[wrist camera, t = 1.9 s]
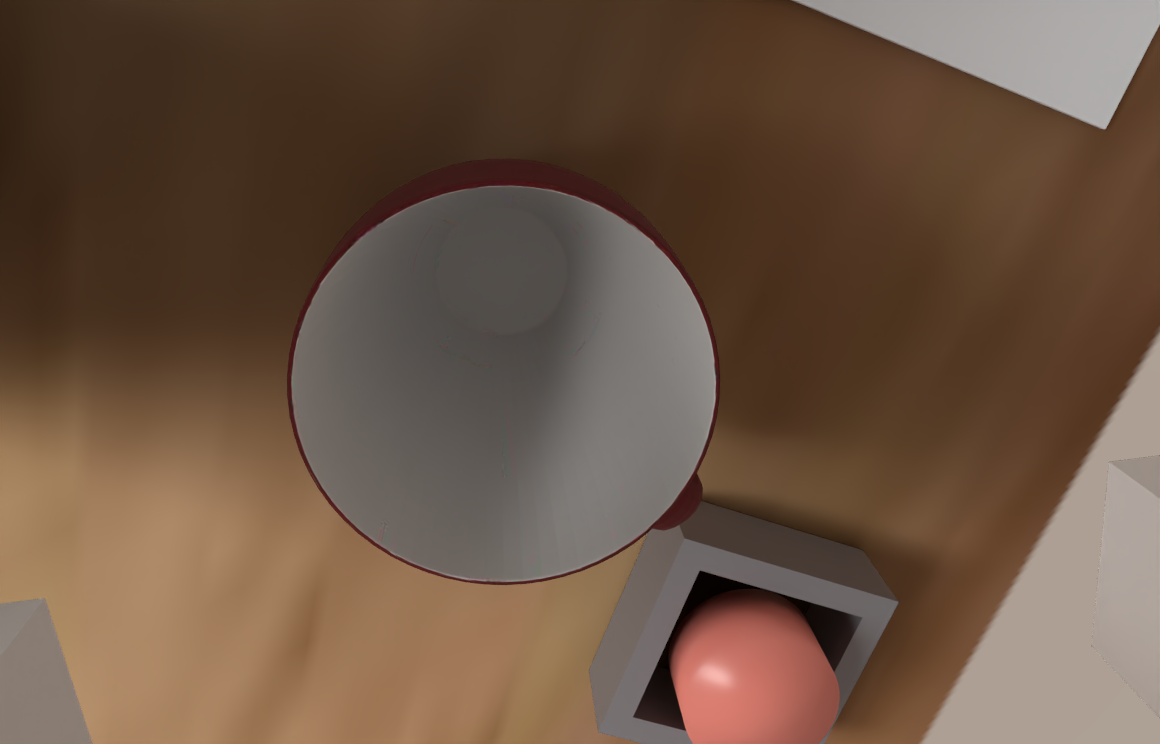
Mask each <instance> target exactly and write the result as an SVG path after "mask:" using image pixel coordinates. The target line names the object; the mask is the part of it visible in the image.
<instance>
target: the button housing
mask: <svg viewBox="0 0 1160 744" xmlns="http://www.w3.org/2000/svg"><path fill="white" fill-rule="evenodd" d="M700 570H701V571H704V572H708V573H711V574H714V575H718V576H721V577H725V578H728V579H732V580H735V581H739V582H742V583H745V584H749V585H752V586H756V587H759V588H763V589H766V590H770V591H773V592H776V593H780V594H783V595H787V596H790V597H794V598H797V599H801V600H804V601H807V602H811V604H810V606H809V608H808V610H807V612H806V614H805V618H806V620H807V622H808V624H809V625H810V627H811V629H812V631H813V633H814V635H815V637H816V639H817V641H818V643H819V645H820V647H821V649H822V650H823V652H824V654H825V656H826V658H827V660H828V662H829V664H830V666H831V668H832V670H833V672H834V673H835V676H836V678H837V681H838V685H839V691H840V701H839V708H838V712H837V715H836V718H835V720H834V723H833V725H832V727H831V728H830V730H829V731H828V733H827V734H826V736H825V737H824V738H823V739H822V741H821V742H820V743H819V744H824V743H825V741H826V739H827V737H828V735H829V733H830V731H831V729H832V728H833V726H834V724H835V722H836V720H837V718H838V716H839V714H840V712H841V710H842V709H843V707H844V705H845V703H846V701H847V699H848V697H849V695H850V693H851V692H852V690H853V688H854V686H855V684H856V682H857V680H858V678H859V676H860V675H861V673H862V671H863V669H864V667H865V665H866V663H867V661H868V659H869V658H870V656H871V654H872V652H873V650H874V648H875V646H876V644H877V642H878V641H879V639H880V637H881V635H882V633H883V631H884V629H885V627H886V625H887V623H888V622H889V620H890V618H891V616H892V614H893V612H894V610H895V608H896V606H897V605H898V603H899V601H898V600H897V598H896V597H895V596H894V594H893V593H892V591H891V590H890V588H889V587H888V586H887V584H886V583H885V581H884V580H883V578H882V577H881V575H880V574H879V573H878V571H877V570H876V568H875V567H874V565H873V564H872V563H871V561H870V560H869V558H868V557H867V555H866V554H865V552H864V551H863V550H861V549H857V548H854V547H851V546H848V545H844V544H841V543H838V542H834V541H831V540H828V539H825V538H821V537H818V536H815V535H811V534H808V533H805V532H802V531H798V530H795V529H792V528H788V527H785V526H782V525H779V524H775V523H772V522H769V521H765V520H762V519H759V518H756V517H752V516H749V515H746V514H742V513H739V512H736V511H733V510H729V509H726V508H723V507H720V506H716V505H713V504H710V503H706V502H703V501H701V503H700V505H699V506H698V508H697V510H696V511H695V512H694V513H693V515H692V516H691V517H690V518H689V519H688V520H686V521H684V522H683V523H681V524H680V525H678V526H676V527H674V528H671V529H668V530H664V531H663V530H657V529H651V530H650V531H649V532H648V535H647V537H646V539H645V542H644V544H643V546H642V549H641V551H640V553H639V556H638V558H637V560H636V563H635V565H634V567H633V570H632V572H631V574H630V576H629V579H628V581H627V583H626V586H625V588H624V590H623V593H622V595H621V597H620V600H619V602H618V604H617V607H616V609H615V611H614V614H613V616H612V618H611V620H610V623H609V625H608V627H607V630H606V632H605V634H604V637H603V639H602V641H601V644H600V646H599V648H598V651H597V653H596V655H595V658H594V660H593V662H592V664H591V667H590V669H589V674H590V681H591V688H592V694H593V701H594V708H595V715H596V722H597V728H598V732H599V733H603V734H607V735H611V736H615V737H619V738H623V739H627V740H630V741H634V742H638V743H642V744H693V743H692V741H691V740H690V738H689V736H688V734H687V731H686V728H685V724H684V721H683V717H682V713H681V710H680V706H679V702H678V699H677V695H676V691H675V688H674V684H673V680H672V677H671V673H670V670H669V669H665V668H662V667H658V666H656V665H657V663H658V661H659V659H660V656H661V654H662V652H663V650H664V648H665V645H666V643H667V641H668V639H669V637H670V634H671V632H672V630H673V628H674V626H675V623H676V621H677V619H678V617H679V615H680V612H681V610H682V608H683V606H684V604H685V601H686V599H687V597H688V595H689V593H690V590H691V588H692V586H693V584H694V582H695V579H696V577H697V575H698V573H699V571H700Z"/></svg>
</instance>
